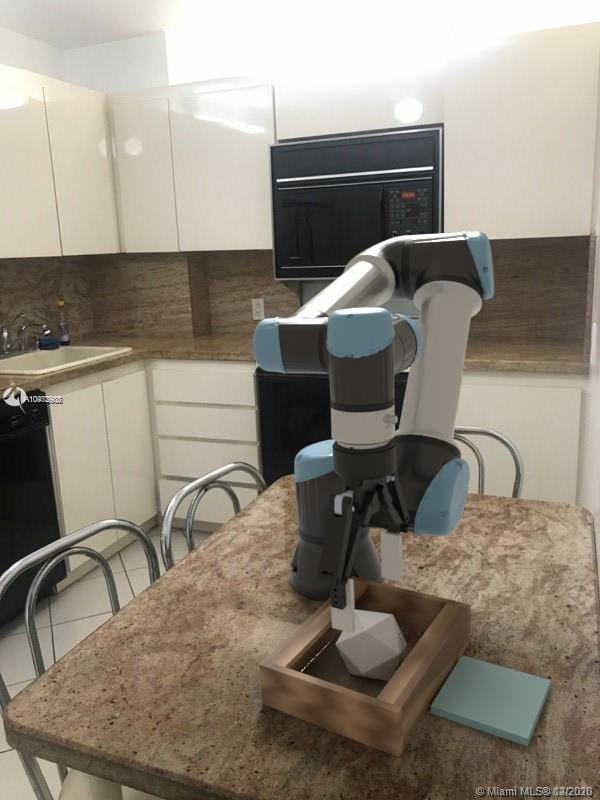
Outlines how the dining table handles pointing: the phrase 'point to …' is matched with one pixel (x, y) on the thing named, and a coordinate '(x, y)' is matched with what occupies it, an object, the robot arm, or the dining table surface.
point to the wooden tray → (402, 696)
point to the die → (372, 645)
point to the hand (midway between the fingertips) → (369, 602)
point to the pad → (492, 699)
